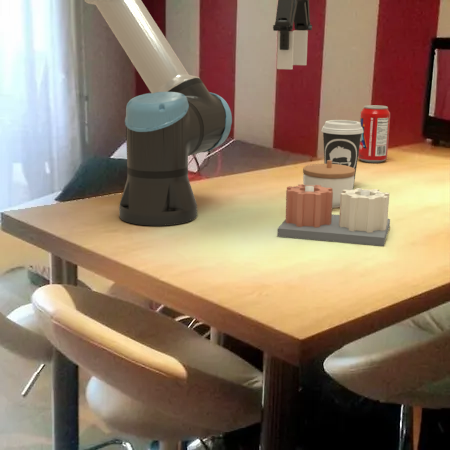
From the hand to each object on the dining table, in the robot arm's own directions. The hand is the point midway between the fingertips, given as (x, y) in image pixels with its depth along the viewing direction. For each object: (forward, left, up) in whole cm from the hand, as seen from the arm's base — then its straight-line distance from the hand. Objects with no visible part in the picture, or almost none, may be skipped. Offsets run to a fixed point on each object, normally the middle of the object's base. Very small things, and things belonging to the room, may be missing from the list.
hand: (292, 67), depth 138 cm
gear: (+5, -8, -27) cm, 29 cm away
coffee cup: (+6, +30, -29) cm, 42 cm away
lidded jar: (+6, +12, -29) cm, 32 cm away
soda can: (+10, +66, -29) cm, 73 cm away
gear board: (+10, -8, -29) cm, 32 cm away
